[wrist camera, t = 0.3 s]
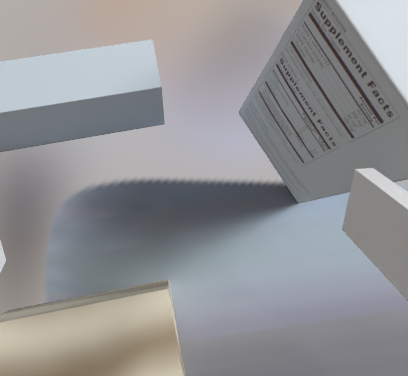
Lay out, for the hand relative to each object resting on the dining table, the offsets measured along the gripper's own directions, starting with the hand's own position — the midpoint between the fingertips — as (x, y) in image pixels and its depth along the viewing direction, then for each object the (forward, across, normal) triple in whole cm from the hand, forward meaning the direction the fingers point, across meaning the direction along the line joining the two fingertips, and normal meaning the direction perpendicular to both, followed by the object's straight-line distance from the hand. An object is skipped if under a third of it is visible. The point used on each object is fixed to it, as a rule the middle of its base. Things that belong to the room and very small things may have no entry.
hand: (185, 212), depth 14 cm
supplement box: (+16, -13, +3) cm, 21 cm away
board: (+18, +6, +2) cm, 20 cm away
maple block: (+9, +6, +17) cm, 20 cm away
